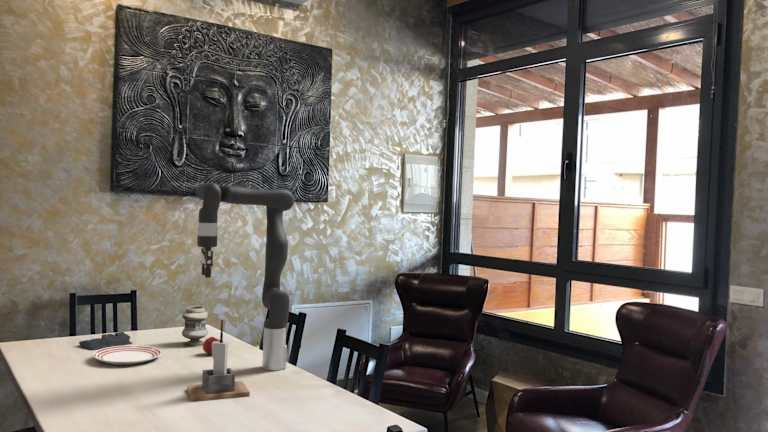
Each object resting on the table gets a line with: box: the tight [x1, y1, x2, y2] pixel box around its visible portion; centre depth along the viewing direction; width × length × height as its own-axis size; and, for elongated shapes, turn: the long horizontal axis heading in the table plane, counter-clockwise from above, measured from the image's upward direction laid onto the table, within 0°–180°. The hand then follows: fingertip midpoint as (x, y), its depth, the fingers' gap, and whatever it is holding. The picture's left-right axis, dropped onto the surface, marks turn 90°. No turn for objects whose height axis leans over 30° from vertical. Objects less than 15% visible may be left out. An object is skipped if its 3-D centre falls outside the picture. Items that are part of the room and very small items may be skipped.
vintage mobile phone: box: [211, 319, 229, 375], centre depth 219 cm, size 4×5×25 cm
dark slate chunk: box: [78, 331, 133, 351], centre depth 283 cm, size 15×22×5 cm
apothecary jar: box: [181, 305, 209, 347], centre depth 290 cm, size 12×12×18 cm
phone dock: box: [186, 367, 251, 402], centre depth 219 cm, size 20×14×8 cm
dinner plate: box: [92, 344, 163, 366], centre depth 259 cm, size 28×27×3 cm
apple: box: [202, 336, 220, 356], centre depth 272 cm, size 8×8×8 cm
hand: (206, 276), depth 234 cm, fingers open, 8 cm apart
